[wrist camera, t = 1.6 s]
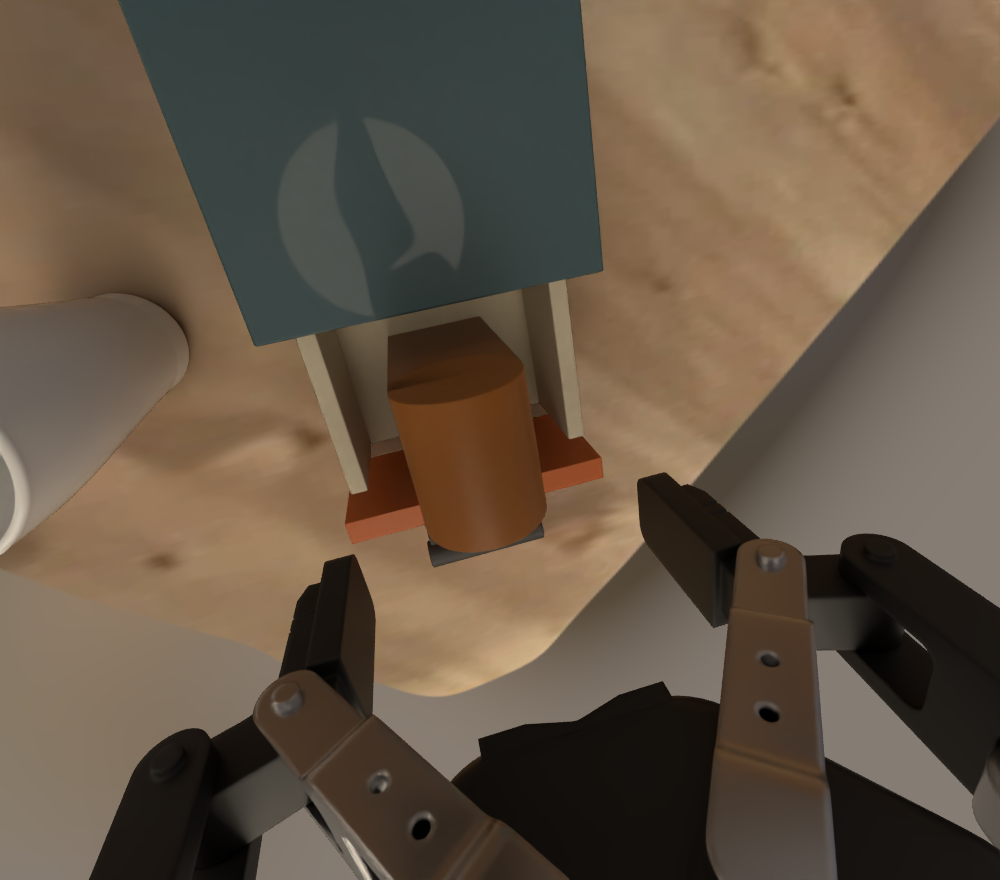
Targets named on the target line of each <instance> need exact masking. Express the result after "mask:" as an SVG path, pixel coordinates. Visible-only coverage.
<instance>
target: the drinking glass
mask: <svg viewBox="0 0 1000 880" xmlns="http://www.w3.org/2000/svg"><path fill="white" fill-rule="evenodd" d="M188 364H189V347H188V343H187V340H186V337H185V335H184V333H183V331H182V329H181V328H180V326H179V325H178V323H177V322H176V321H175V320H174V319H173V317H172V316H171V315H169V314H168V313H167V312H166V311H165V310H164V309H162V308H161V307H159V306H158V305H156V304H154V303H153V302H150V301H148V300H146V299H144V298H141V297H138V296H134V295H130V294H122V293H109V294H102V295H97V296H93V297H89V298H85V299H77V300H68V301H58V302H48V303H38V304H28V305H18V306H7V307H0V556H1V555H2V554H3V553H4V552H6V551H7V550H8V549H9V548H10V547H12V546H13V545H14V544H16V543H17V542H18V541H20V540H21V539H22V538H24V537H25V536H26V535H28V534H29V533H30V532H31V531H33V530H34V529H35V528H37V527H38V526H39V525H40V524H42V523H43V522H44V521H45V520H47V519H48V518H49V517H50V516H51V515H53V514H54V513H55V512H56V511H57V510H59V509H60V508H61V507H62V506H63V505H64V504H65V503H66V502H68V501H69V500H70V499H71V498H72V497H73V496H74V495H75V494H76V493H77V492H78V491H79V490H80V489H81V488H82V487H83V486H84V485H85V484H86V483H87V482H88V481H89V480H90V479H91V478H92V477H93V476H94V475H95V474H96V473H97V472H98V471H99V470H100V469H101V467H102V466H103V465H104V464H105V463H106V462H107V461H108V460H109V458H110V457H111V456H112V455H113V454H114V453H115V451H116V450H117V449H118V448H119V447H120V446H121V444H122V443H123V442H124V441H125V440H126V439H127V437H128V436H129V435H130V434H131V433H132V432H133V431H134V429H135V428H136V427H137V426H138V425H139V424H140V422H141V421H142V420H143V419H144V418H145V417H146V416H147V415H148V413H149V412H150V411H151V410H152V409H153V408H154V407H155V405H156V404H157V403H158V402H159V401H160V400H161V399H162V398H163V397H164V396H165V395H166V394H167V393H168V392H169V391H171V390H172V389H173V388H174V387H176V386H177V385H178V384H179V382H180V381H181V380H182V378H183V377H184V375H185V373H186V371H187V368H188Z"/></svg>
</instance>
